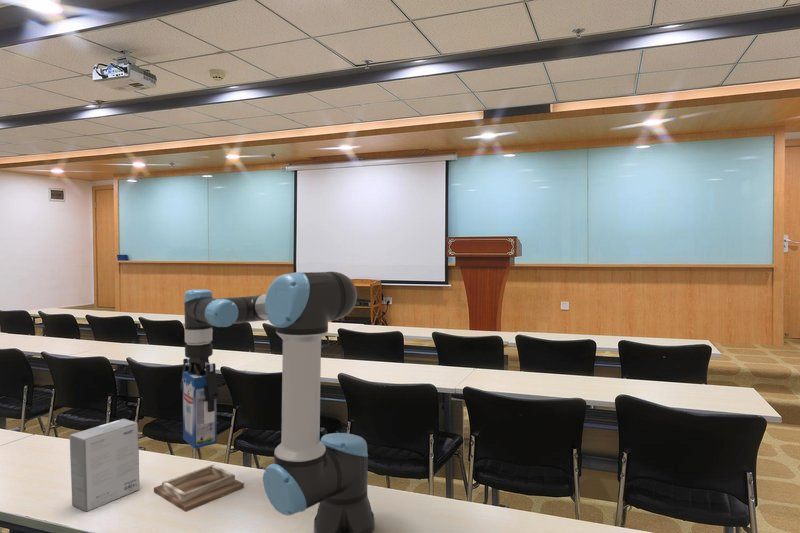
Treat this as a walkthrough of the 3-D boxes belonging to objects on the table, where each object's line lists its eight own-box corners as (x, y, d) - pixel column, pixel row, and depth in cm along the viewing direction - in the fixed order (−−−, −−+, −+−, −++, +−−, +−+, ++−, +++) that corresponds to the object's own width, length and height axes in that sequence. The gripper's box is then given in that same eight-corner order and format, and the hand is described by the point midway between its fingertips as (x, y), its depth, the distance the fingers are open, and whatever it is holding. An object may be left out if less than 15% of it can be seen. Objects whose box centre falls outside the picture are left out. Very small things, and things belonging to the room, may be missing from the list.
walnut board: (243, 487, 150) (243, 476, 150) (185, 511, 136) (185, 499, 136) (210, 471, 161) (210, 461, 161) (153, 491, 147) (153, 480, 147)
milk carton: (216, 443, 146) (216, 374, 146) (194, 448, 142) (194, 378, 142) (204, 434, 154) (203, 368, 153) (183, 438, 150) (182, 371, 149)
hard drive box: (125, 483, 152) (124, 418, 152) (140, 489, 148) (139, 422, 148) (70, 505, 139) (68, 433, 138) (85, 513, 135) (84, 438, 135)
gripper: (232, 345, 143) (232, 423, 144) (191, 336, 157) (191, 407, 158) (207, 349, 137) (208, 430, 138) (167, 340, 152) (168, 413, 152)
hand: (199, 418), depth 148 cm, fingers closed on milk carton, 10 cm apart
